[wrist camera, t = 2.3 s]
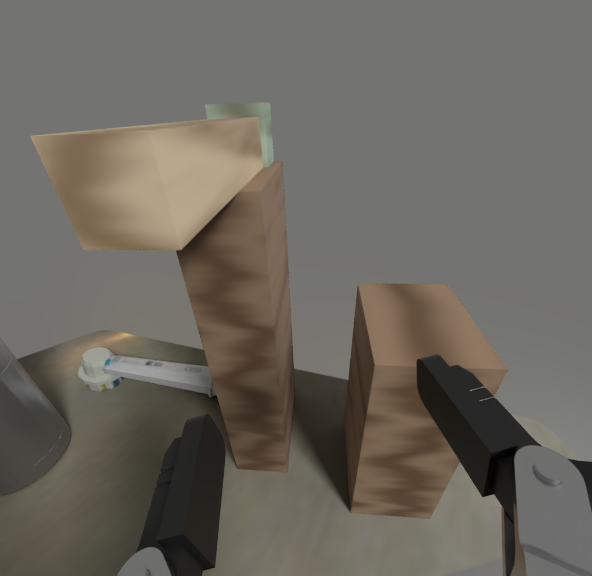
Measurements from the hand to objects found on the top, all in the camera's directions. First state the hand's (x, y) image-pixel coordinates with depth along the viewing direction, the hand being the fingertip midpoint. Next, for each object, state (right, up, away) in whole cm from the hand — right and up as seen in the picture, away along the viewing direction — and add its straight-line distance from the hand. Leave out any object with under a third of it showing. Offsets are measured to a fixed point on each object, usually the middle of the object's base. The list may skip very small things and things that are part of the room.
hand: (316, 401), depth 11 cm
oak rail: (-6, +11, +7) cm, 14 cm away
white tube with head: (-22, -11, +34) cm, 42 cm away
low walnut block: (+9, -17, +23) cm, 30 cm away
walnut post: (-4, -14, +27) cm, 31 cm away
